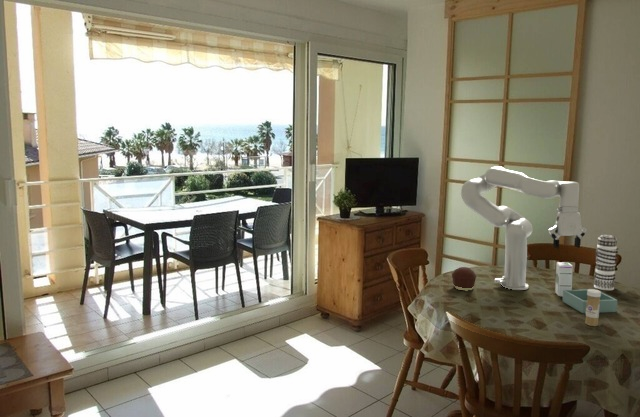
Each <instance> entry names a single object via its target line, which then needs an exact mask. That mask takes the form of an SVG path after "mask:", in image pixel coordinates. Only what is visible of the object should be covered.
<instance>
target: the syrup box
mask: <svg viewBox="0 0 640 417" xmlns="http://www.w3.org/2000/svg"><path fill="white" fill-rule="evenodd" d="M573 268H574V267H573V264H571V263H570V262H565V261H562V262H559V261H556V265H555V284H554V285H555V287H554V288H555V289H554V292H555V294H556V295H557V297H562V298H563V290H573Z"/></svg>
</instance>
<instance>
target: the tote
mask: <svg viewBox="0 0 640 417" xmlns="http://www.w3.org/2000/svg"><path fill="white" fill-rule="evenodd" d="M588 289H589V288H588ZM588 289H572V290H563V297H562V303H563V304H564V303H565V304H566V305H568V307H569V306H570V307H571V308H572V309H575V310H576V311H578V312H580V313H581V314H586V307H587V290H588ZM617 310H618V299H616V298H615V297H612V296H610V295H609V294H606V293H604V292H602V291H601V296H600V306H599V314H600V313H617Z"/></svg>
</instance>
